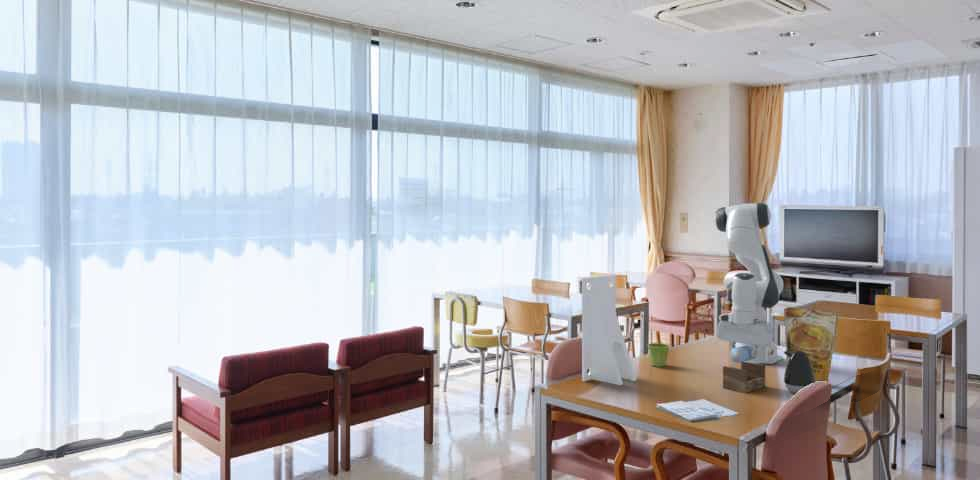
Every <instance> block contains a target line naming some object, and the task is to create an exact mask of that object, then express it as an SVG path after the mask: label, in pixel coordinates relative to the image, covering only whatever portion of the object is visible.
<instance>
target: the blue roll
mask: <svg viewBox="0 0 980 480" xmlns="http://www.w3.org/2000/svg"><path fill="white" fill-rule="evenodd" d="M752 349H753V348H752V345H746V346H742V347H737V348H733V349H732V348H731V351H730V354H729V355H730V358H731V360H732V361H733V362H734V363H737V364H738V363H741V362H744V361H748V360H752V359H754V358H756V356H757V350H756V352H755V357H750V356H749V352H751V351H752Z"/></svg>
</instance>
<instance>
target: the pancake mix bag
mask: <svg viewBox="0 0 980 480" xmlns="http://www.w3.org/2000/svg"><path fill="white" fill-rule="evenodd" d="M783 311H784V327H785V328H784V332H785V349H786V351H787V352H789V353H791V354H792V353H793V352H795V351H798V350H800V351H803V352H805V353H806V354H807V355H808V357H809V359H810V361H811V364H812V367H813V371H814V377H815V382H816V381H827V382H829V383H830V381H829V375H830V373H831V367H832V359H833V353H834V348H835V343H836V334H837V325H838V319H839V317H838V314H837V313H835V312H834V311H833V310H823V309H813V308H807V307H806V308H805V307H792V306H788V307H785V308H783ZM789 358H790V357H789V356H787V355H786V364H787V363H788V360H789Z"/></svg>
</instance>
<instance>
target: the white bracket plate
mask: <svg viewBox="0 0 980 480" xmlns="http://www.w3.org/2000/svg"><path fill="white" fill-rule="evenodd" d="M616 278H617V276H616V274H614V273H613V274H612V273H611V274H605V275H602V274H601V275H596V276H595V275H594V276H584V277H581V379H582V380H581V381H582V382H587V381H591V380H592V381H593V380H594V381H598V382H601V383H609V384H613V385H618V386H621V385H624V383H623V380H622V379H624V380H627V381H631V382H635V381H636V382H637V377H636V374H635V371H634V369H633V364H632V361H631V358H630V355H629V351H628V348H627V345H626V341H625V338H624V334H623V331H622V328H621V325H620V322H619V321H620V320H619V319H618V314H617V312H616V311H617V306H616V305H617V303H616V302H617V301H616V300H617V296H616V295H617V293H616V289H617V288H616V287H617V286H616V284H617V281H616V280H617V279H616ZM588 370H589V372H588Z"/></svg>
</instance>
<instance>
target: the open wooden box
mask: <svg viewBox="0 0 980 480" xmlns="http://www.w3.org/2000/svg"><path fill="white" fill-rule="evenodd" d="M740 363H741V364H740V365H741V367H740V368H738V367H732V366H728V365H727V366H726V365H723V366H722V389H726V390H731V391H734V390H735V392H739V391H740V392H741V393H749V392H752V391H754V390H758V389H762V388H765V387H766V365H765V364H757V363H750V362H740Z"/></svg>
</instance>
